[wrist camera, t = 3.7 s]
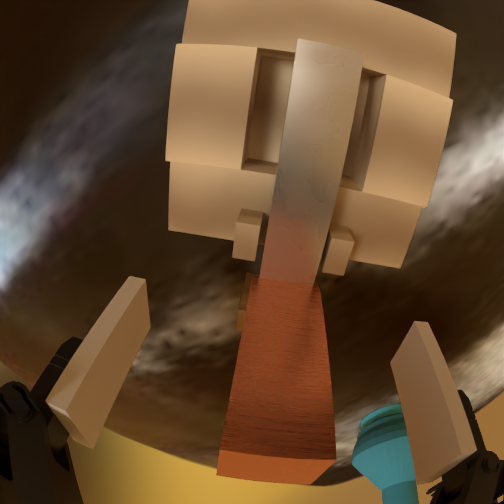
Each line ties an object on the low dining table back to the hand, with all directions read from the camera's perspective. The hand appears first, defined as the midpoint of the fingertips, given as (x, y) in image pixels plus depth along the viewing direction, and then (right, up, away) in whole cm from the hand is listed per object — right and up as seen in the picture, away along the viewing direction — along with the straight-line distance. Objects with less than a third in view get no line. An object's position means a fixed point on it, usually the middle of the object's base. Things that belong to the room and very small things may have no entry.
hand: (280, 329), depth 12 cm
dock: (+1, +8, +4) cm, 9 cm away
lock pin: (+1, +6, +1) cm, 6 cm away
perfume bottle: (+14, -15, +15) cm, 26 cm away
